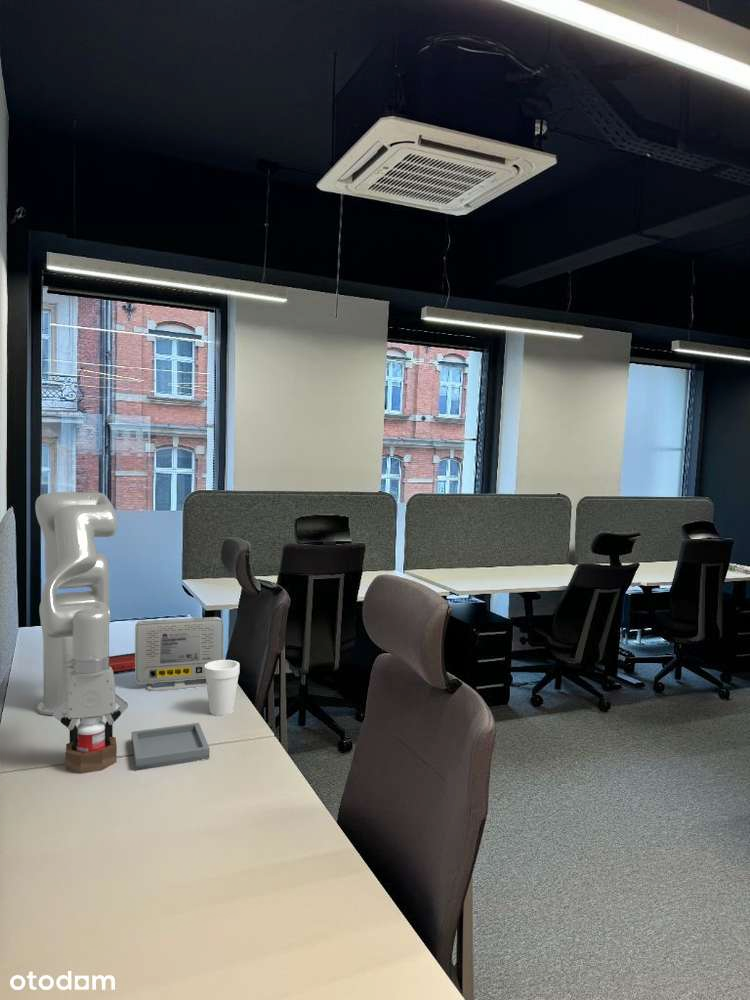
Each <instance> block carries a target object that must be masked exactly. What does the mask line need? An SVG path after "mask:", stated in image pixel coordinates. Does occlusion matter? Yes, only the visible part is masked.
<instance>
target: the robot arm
mask: <svg viewBox="0 0 750 1000" xmlns="http://www.w3.org/2000/svg"><path fill="white" fill-rule="evenodd" d="M34 505H35V507H34V508H35V515H36V519H37V522H38V524H39V526H40V529H41V531H42V533H43V537H44V565H45V566H44V570H45V571H44V573H45V576H44V577H45V583H44V586H43V588H42V593H41V601H40V603H39V617H40V618H39V619H40V625H41V630H42V641H43V643H42V645H43V646H42V647H43V649H42V650H43V653H42V654H43V656H42V657H43V660H42V661H43V666H42V667H43V700H42V701H41V702H39V704H38V705H36V706H37V707H36V708H37V712H38V713H39V714H42V715H45V716H53V717H54V718H55V720H57V721H58V722H60V723H61V724H62V725H63V726H65V727H66V728H67V729H68V730H69V743H71V742H73V747H75V746H76V745H77V733H76V732H77V727H78V725H77V722H78V720H80V718H89V717H97V716H103V717H104V718H105V720H106V722H105V724H106V742H107V743H108V742H109V737H114V736H113V731H114V730H113V727H114V726H113V725H114V723H115V722H116V721H117V720H118V719H119V717H120V716H121V715H122V714H123V713H124V712H125V711H126V710H127V709H128V707H129V704H128V702H126V701H125V700H124V699H123V698H121V697H120V696H119V695H117V693H116V681H115V674H114V673H113V669H112V668H111V667H109V656H110V623H111V610H110V568H109V561H108V559H107V557H106V555H105V554H103V553H101V552H97V551H96V544H95V538H110V537H113V536H114V535H115V534H116V532H117V529H118V517H117V512H116V509H115V507H114V505H113V503H112V502H111V501H110V499H109V498H108V497H107V495H106V494H105V493H103V492H94V491H92V492H91V491H89V492H77V491H76V492H75V491H74V492H73V491H71V492H69V491H67V492H66V491H65V492H59V491H57V492H48V493H43V494H41V495H39V496H38V497H37V498H36V500H35V504H34ZM77 588H79V589H80V588H90V590H86V591H85V590H84V591H73V592H70V591H69V592H62V593H61V592H60V593H56V591H57V590H58V589H60V590H61V589H62V590H64V589H77ZM116 704H117V705H118V706H119V707H118V708H117V709H116V706H117V705H116Z"/></svg>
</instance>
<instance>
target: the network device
mask: <svg viewBox="0 0 750 1000" xmlns="http://www.w3.org/2000/svg"><path fill="white" fill-rule="evenodd" d="M134 653H135V671H134V680H135V682H136V684H138V685H143V684H146V690H147V691H148V690H149V691H148V692H151V691H159V692H168V690H171V691H180V690H179V689H183V690H188V689H187V688H195V689H197V688H196V687H205V686H207V684H196V685H186V683H185V682H186V681H185V680H190V681H197V680H196V679H206V676H205V664H207V663H208V662H212V661H217V660H224V622H223V620H222V618H220V617H218V616H212V617H211V616H209V617H193V618H192V617H191V618H190V617H189V618H174V619H173V618H172V619H171V618H169V619H153V620H151V619H150V620H139V621H137V622H136V624H135V628H134ZM159 682H160V683H159ZM161 682H166V683H174V685H173V686H171V687H159V688H152V685H153V684H152V683H154V684H162V683H161ZM151 684H152V685H151ZM205 688H206V687H205Z"/></svg>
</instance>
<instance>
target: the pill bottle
mask: <svg viewBox="0 0 750 1000" xmlns="http://www.w3.org/2000/svg"><path fill="white" fill-rule="evenodd" d="M103 717H104V716H97V717H89V718H80V719H79V722H80V723H79V724H78V725H77V732H76V733H77V745H76V751H77V752H81V753H86V752H93V751H100V750H102V749H104V748H105V747H106V722H104V721H103Z"/></svg>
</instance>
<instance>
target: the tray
mask: <svg viewBox="0 0 750 1000" xmlns="http://www.w3.org/2000/svg"><path fill="white" fill-rule="evenodd" d="M130 740H131V747H132V749H131V750H132V753H133V754H132V755H133V760H134V766H135V771H142V770H147V769H155V768H160V767H167V766H173V765H179V764H186V763H191V762H198V761H197V760H199V761H203V760H202V759H206V760H209V759H210V751H211V750H210V746H209V744H208V742H207V739H206V736H205V734H204V732H203V730H202V728H201V725H200V722H195V723H194V722H193V723H186V724H180V725H178V724H177V725H173V726H171V725H170V726H165V727H164V726H163V727H158V728H151V729H143V730H133V731H131V739H130ZM208 758H209V759H208Z"/></svg>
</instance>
